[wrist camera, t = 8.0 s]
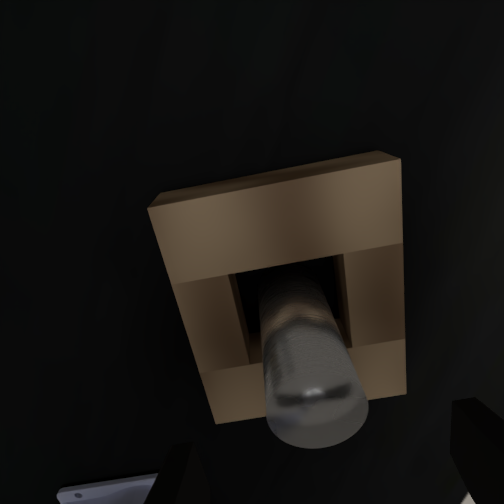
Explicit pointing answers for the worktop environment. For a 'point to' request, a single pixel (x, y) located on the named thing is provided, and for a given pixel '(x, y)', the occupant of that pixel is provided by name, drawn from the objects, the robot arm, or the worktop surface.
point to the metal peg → (306, 362)
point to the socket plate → (283, 252)
